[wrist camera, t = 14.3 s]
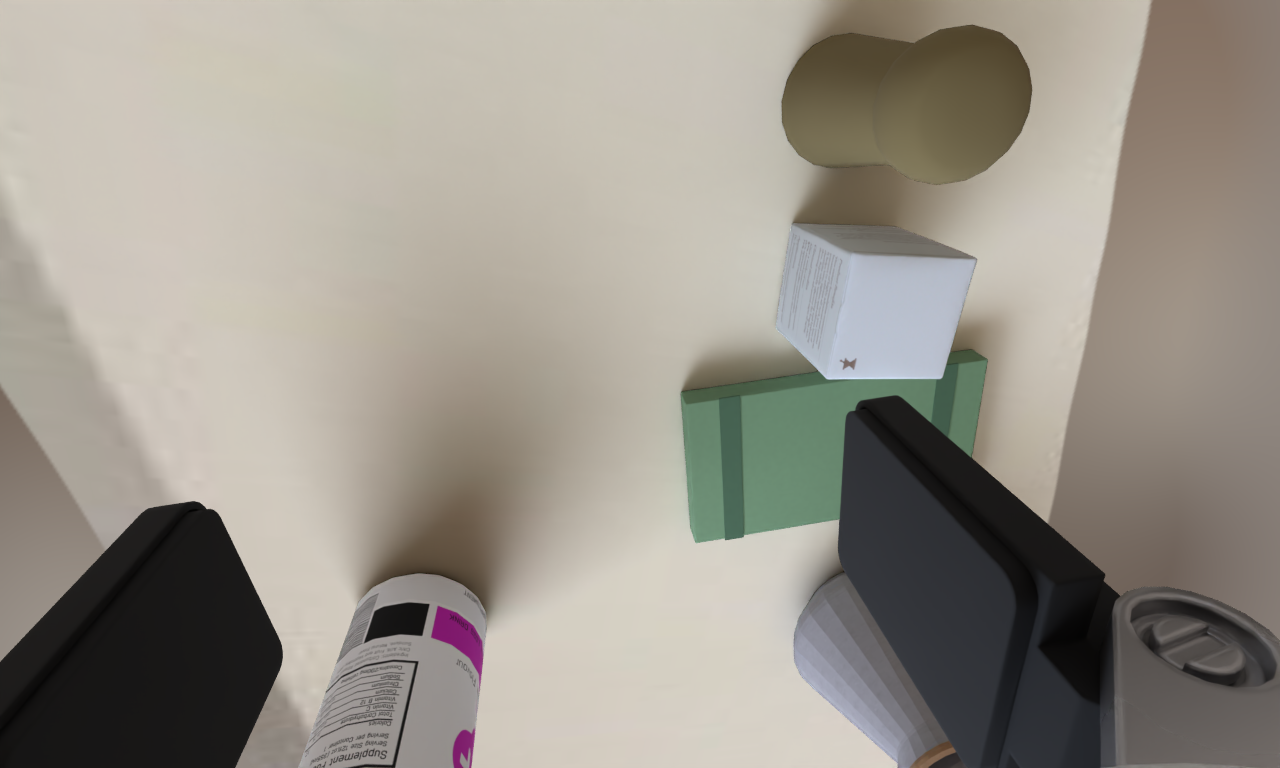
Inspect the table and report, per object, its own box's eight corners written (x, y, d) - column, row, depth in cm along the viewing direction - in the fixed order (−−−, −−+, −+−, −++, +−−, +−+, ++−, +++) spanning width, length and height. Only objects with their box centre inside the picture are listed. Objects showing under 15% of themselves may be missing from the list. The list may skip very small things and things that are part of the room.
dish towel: (680, 390, 36) (686, 403, 35) (971, 347, 38) (989, 358, 36) (690, 528, 41) (695, 545, 39) (951, 485, 42) (966, 500, 41)
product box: (871, 330, 36) (943, 384, 30) (771, 328, 35) (823, 383, 29) (897, 224, 34) (982, 256, 27) (790, 218, 33) (851, 251, 26)
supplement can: (504, 582, 41) (484, 827, 27) (464, 670, 43) (428, 931, 30) (376, 552, 38) (284, 803, 25) (343, 646, 41) (244, 919, 28)
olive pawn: (842, 2, 29) (995, -43, 19) (923, 91, 31) (1099, 92, 21) (756, 115, 30) (856, 128, 21) (839, 192, 33) (966, 237, 23)
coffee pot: (768, 572, 43) (868, 791, 30) (926, 525, 43) (1096, 721, 30) (808, 755, 53) (898, 983, 39) (938, 715, 53) (1071, 929, 40)
